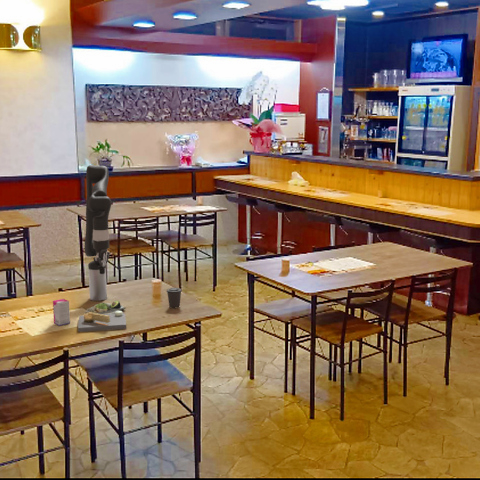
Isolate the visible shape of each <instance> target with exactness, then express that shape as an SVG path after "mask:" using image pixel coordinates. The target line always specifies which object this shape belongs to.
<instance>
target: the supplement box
mask: <svg viewBox="0 0 480 480" xmlns="http://www.w3.org/2000/svg"><path fill="white" fill-rule="evenodd" d="M52 308H53V309H52V311H53V313H52V314H53V324H54V325H56V326H58V327H62V326H66V325H70V323H71V317H70V314H71V313H70V300H67V299H65V298H59V299H56V300H53V301H52Z"/></svg>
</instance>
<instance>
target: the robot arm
mask: <svg viewBox="0 0 480 480" xmlns="http://www.w3.org/2000/svg"><path fill="white" fill-rule="evenodd" d="M109 174H110V173H109V168H108V167H107V166H105V165H92V164H91V165H87V166H86V173H85V177H86V178H85V180H86V181H85V182H86V183H85V186H86V200H85V201H86V205H85V236H84V237H85V238H84V254H85V256H86V257H88V258H89V257H93V258H92V259H93V260H92V261H90V262H88V265H87V269H88V284H89V285H88V287H89V299H90V300H91V301H96V302H97V301H98V302H99V301H104V300H107V298H108V290H107V287H108V286H107V266H106V265H107V264H108V261H109V257H110V254H111V252H110V251H108V249H109V248H110V232H109V216H110V211H111V208H112V200H111V198H110V197H109V196H108V191H107V189H108V184H109V178H110V177H109Z"/></svg>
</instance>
